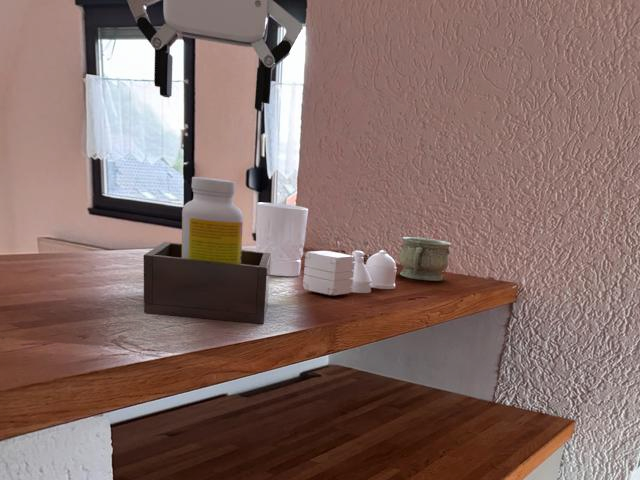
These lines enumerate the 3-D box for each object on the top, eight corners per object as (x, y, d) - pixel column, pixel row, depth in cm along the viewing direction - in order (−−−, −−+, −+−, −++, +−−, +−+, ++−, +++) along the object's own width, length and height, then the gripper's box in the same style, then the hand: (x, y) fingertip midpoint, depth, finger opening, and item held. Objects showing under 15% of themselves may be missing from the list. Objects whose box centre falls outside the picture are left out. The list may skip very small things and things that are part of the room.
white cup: (243, 271, 113) (246, 202, 109) (267, 267, 119) (271, 202, 115) (289, 279, 110) (294, 209, 106) (311, 274, 117) (316, 208, 113)
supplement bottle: (249, 304, 84) (255, 184, 79) (194, 304, 80) (197, 179, 75) (224, 292, 89) (228, 179, 84) (172, 292, 85) (173, 173, 80)
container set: (333, 298, 99) (337, 257, 97) (301, 291, 101) (304, 250, 99) (400, 287, 115) (405, 251, 113) (372, 281, 118) (376, 246, 115)
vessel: (438, 284, 123) (443, 245, 121) (388, 276, 125) (393, 238, 123) (452, 277, 134) (457, 241, 131) (406, 270, 136) (410, 234, 133)
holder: (143, 312, 78) (143, 254, 76) (163, 292, 90) (164, 241, 88) (263, 324, 80) (267, 267, 77) (268, 302, 91) (271, 253, 89)
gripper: (311, -68, 74) (295, 118, 81) (137, -100, 72) (135, 93, 79) (312, -92, 67) (294, 114, 74) (120, -128, 65) (119, 87, 72)
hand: (212, 103), depth 76 cm, fingers open, 9 cm apart
